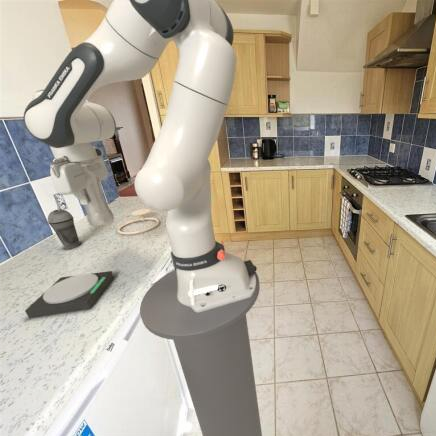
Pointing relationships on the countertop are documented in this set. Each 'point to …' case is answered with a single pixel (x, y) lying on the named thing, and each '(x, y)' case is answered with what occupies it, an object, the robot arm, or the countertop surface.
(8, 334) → the countertop surface
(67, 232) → the beverage cup
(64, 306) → the kitchen scale
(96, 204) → the plastic bottle
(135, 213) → the hand towel holder
